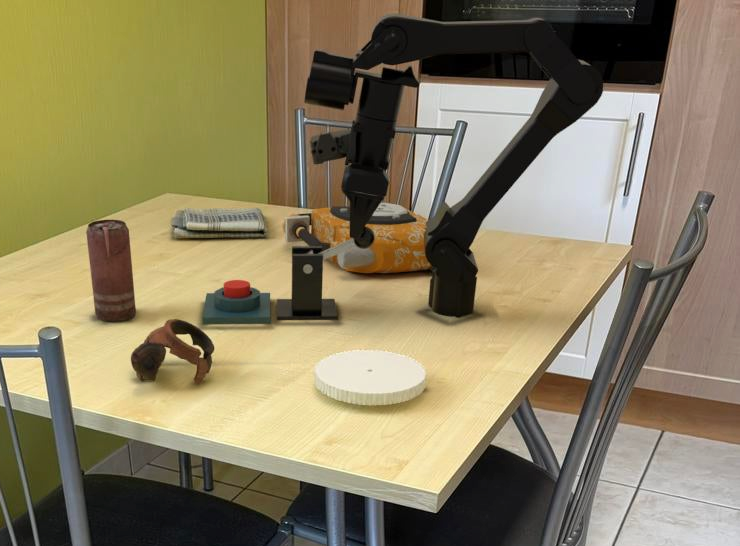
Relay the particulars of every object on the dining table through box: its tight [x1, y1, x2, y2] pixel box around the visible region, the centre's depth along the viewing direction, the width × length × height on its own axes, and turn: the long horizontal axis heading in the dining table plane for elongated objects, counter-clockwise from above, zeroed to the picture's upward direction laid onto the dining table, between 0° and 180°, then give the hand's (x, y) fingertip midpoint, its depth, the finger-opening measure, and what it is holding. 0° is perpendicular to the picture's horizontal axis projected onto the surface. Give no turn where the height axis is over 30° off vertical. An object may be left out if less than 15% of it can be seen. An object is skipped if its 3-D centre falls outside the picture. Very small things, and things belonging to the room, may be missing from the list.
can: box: [85, 219, 137, 323], centre depth 137 cm, size 6×6×14 cm
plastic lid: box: [313, 349, 427, 406], centre depth 117 cm, size 14×14×2 cm
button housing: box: [201, 286, 271, 325], centre depth 140 cm, size 10×11×4 cm
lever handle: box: [304, 226, 375, 261], centre depth 135 cm, size 12×3×3 cm, turn 90°
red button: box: [223, 279, 251, 298], centre depth 139 cm, size 4×4×2 cm
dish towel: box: [170, 207, 269, 239], centre depth 183 cm, size 19×18×3 cm
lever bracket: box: [276, 245, 339, 321], centre depth 138 cm, size 9×8×10 cm
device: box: [281, 202, 437, 274], centre depth 163 cm, size 23×8×30 cm
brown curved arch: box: [130, 318, 215, 384], centre depth 119 cm, size 12×10×8 cm
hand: (354, 229), depth 135 cm, fingers open, 9 cm apart
